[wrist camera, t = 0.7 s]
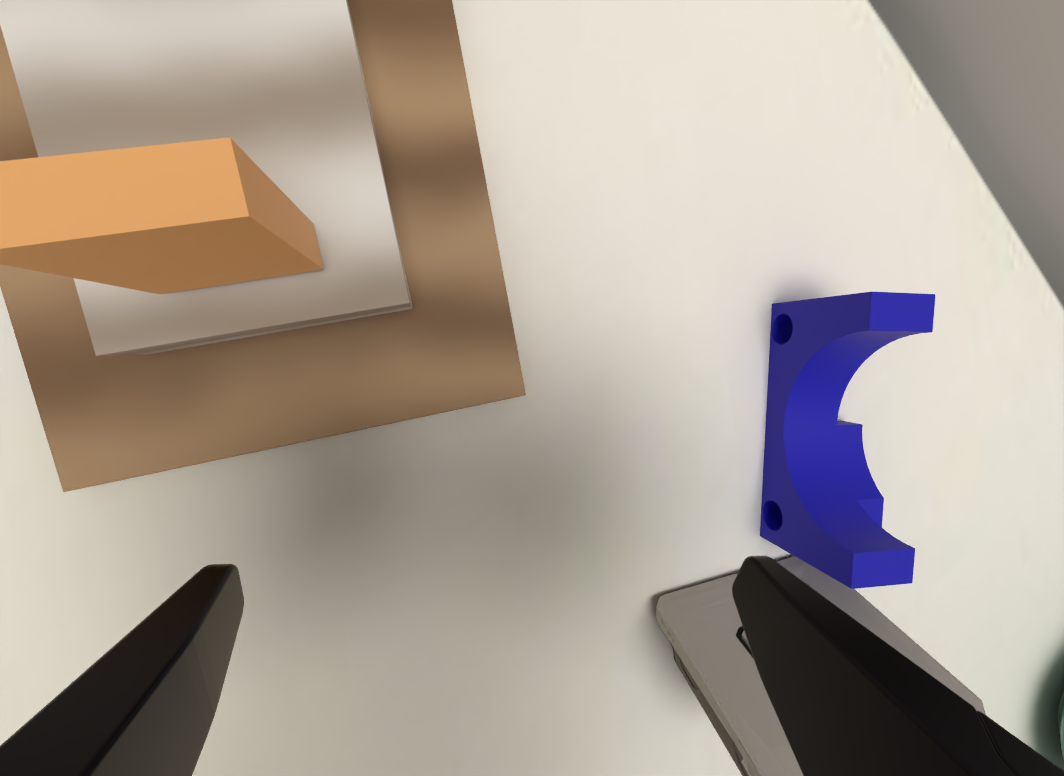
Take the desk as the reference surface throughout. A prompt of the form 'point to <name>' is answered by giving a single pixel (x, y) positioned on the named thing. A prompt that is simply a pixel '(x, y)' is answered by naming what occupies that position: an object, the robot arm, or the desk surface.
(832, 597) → the electrical switch
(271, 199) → the orange wedge plank
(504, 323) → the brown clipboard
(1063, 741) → the mug
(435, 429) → the desk surface
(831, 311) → the cable clip
